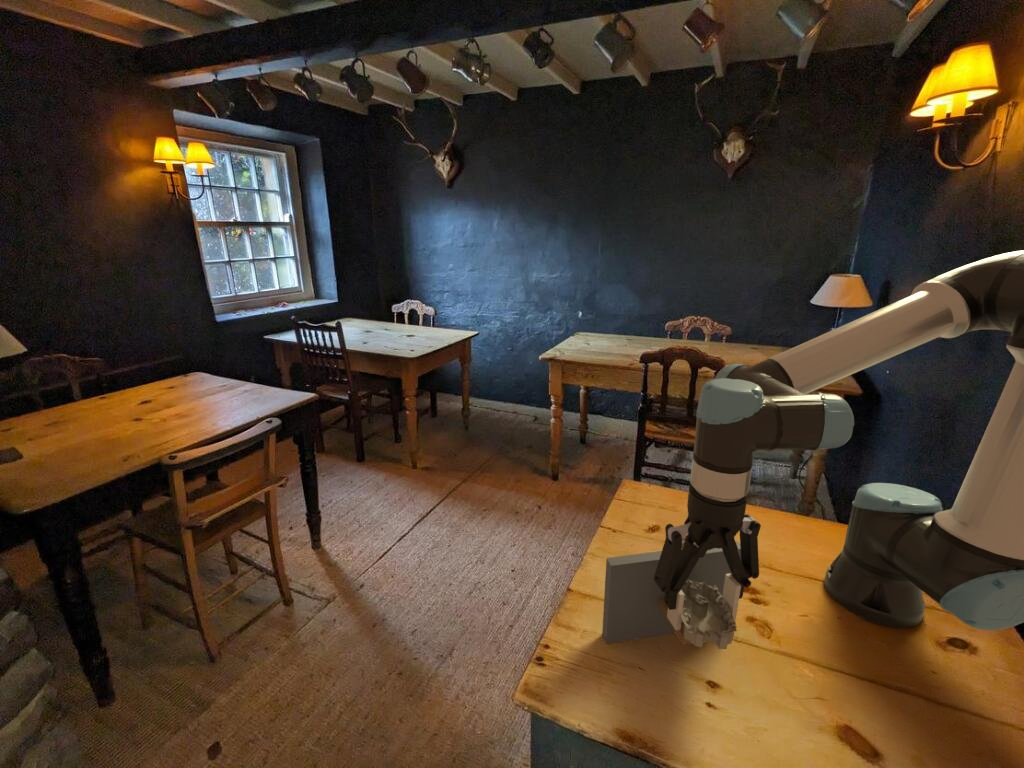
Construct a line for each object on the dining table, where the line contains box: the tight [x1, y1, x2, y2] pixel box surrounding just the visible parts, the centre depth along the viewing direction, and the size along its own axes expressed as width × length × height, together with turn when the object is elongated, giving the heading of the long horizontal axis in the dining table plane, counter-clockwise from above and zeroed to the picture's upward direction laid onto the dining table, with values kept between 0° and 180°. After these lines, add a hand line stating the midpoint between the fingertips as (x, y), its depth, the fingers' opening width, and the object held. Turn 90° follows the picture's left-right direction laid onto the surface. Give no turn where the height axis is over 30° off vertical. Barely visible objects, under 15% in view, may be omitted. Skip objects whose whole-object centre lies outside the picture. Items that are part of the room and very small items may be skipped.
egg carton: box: [681, 580, 738, 650], centre depth 70 cm, size 11×8×4 cm
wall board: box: [601, 540, 741, 645], centre depth 76 cm, size 24×10×16 cm, turn 100°
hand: (701, 618), depth 71 cm, fingers closed on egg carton, 8 cm apart
